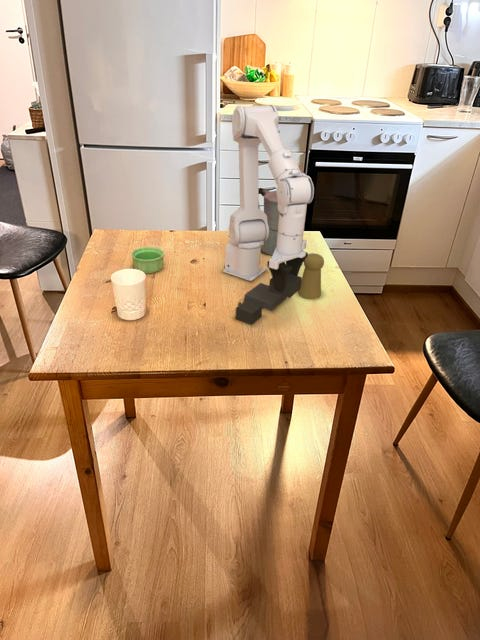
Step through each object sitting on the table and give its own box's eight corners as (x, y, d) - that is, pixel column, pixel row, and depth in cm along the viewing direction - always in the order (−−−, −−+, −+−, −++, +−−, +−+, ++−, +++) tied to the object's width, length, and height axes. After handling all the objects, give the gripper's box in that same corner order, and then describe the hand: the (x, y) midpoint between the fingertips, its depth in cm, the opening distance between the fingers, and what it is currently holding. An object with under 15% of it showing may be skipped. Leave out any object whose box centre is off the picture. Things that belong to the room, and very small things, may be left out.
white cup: (153, 308, 122) (151, 272, 117) (138, 324, 116) (135, 287, 110) (125, 302, 124) (122, 266, 119) (108, 317, 118) (104, 280, 112)
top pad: (235, 318, 120) (236, 307, 118) (245, 310, 123) (246, 299, 121) (251, 325, 118) (252, 313, 116) (261, 316, 121) (262, 305, 119)
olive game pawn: (320, 300, 129) (325, 262, 123) (297, 297, 130) (301, 259, 124) (321, 289, 134) (327, 252, 128) (299, 286, 135) (303, 249, 129)
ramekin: (170, 270, 140) (169, 255, 138) (140, 277, 136) (139, 262, 133) (156, 257, 146) (155, 244, 144) (127, 264, 142) (126, 250, 139)
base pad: (244, 301, 127) (244, 294, 126) (260, 289, 133) (260, 282, 132) (271, 311, 124) (272, 304, 122) (286, 298, 129) (287, 291, 128)
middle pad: (268, 291, 118) (269, 279, 116) (279, 282, 122) (281, 270, 120) (289, 298, 116) (290, 286, 114) (300, 289, 120) (301, 277, 118)
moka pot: (286, 261, 148) (293, 196, 137) (242, 248, 154) (245, 184, 143) (300, 250, 155) (308, 187, 144) (257, 238, 161) (261, 177, 150)
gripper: (291, 246, 104) (285, 302, 111) (320, 225, 114) (313, 278, 121) (262, 238, 107) (258, 293, 114) (293, 218, 117) (287, 270, 125)
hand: (285, 285), depth 118 cm, fingers closed on middle pad, 5 cm apart
